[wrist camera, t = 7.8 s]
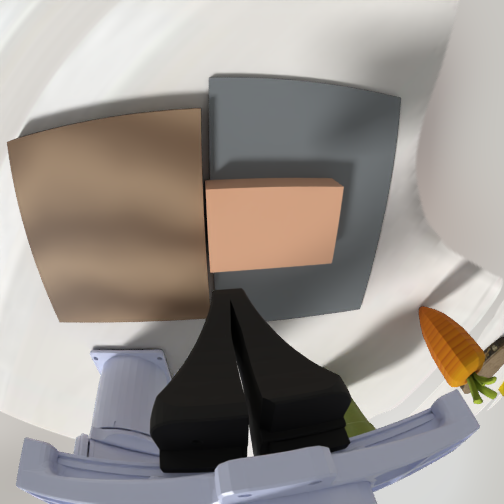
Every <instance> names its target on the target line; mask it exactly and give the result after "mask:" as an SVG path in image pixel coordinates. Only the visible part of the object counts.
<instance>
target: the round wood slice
mask: <svg viewBox="0 0 504 504" xmlns="http://www.w3.org/2000/svg"><path fill="white" fill-rule="evenodd" d="M483 352H484V354H485V361H484V364H483V366H482V369H481V370H480V372H479V373H478V374H477V375H479V376H483V377H487V378H491V377H492V376H493V375H494V374H495V373H496V372H497V371H498V370H499V369H500V367H501V366H502V365H503V364H504V337H501V338H500V339H498V340H496V341H495V342H494V343H492V344H491V345H490V346H489V347H487V348H486V349H485V350H484V351H483ZM460 387H461V389H462V390H463V392H464V394H468V393H470V392H471V391H470V388H469V385H468V383H467V384H465V385H462V386H460Z"/></svg>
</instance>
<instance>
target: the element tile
mask: <svg viewBox="0 0 504 504" xmlns="http://www.w3.org/2000/svg"><path fill="white" fill-rule="evenodd" d="M499 391H500V393H501V394H502V396H504V382H503V384H502V385H501V387H500V388H499Z"/></svg>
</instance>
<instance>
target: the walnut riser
mask: <svg viewBox="0 0 504 504" xmlns="http://www.w3.org/2000/svg"><path fill="white" fill-rule="evenodd" d="M7 146H8V153H9V160H10V166H11V172H12V177H13V182H14V187H15V192H16V197H17V201H18V205H19V209H20V213H21V217H22V221H23V224H24V228H25V231H26V235H27V238H28V241H29V245H30V248H31V251H32V254H33V257H34V260H35V263H36V266H37V268H38V271H39V274H40V276H41V279H42V282H43V284H44V287H45V289H46V292H47V294H48V297H49V299H50V301H51V304H52V306H53V308H54V311H55V313H56V315H57V317H58V319H59V322H145V321H170V320H189V319H205V318H207V315H208V312H209V308H210V299H209V286H208V273H207V258H206V243H205V225H204V205H203V181H202V147H201V108H188V109H174V110H162V111H152V112H143V113H135V114H127V115H120V116H113V117H107V118H101V119H95V120H90V121H85V122H80V123H75V124H70V125H66V126H61V127H57V128H53V129H49V130H45V131H41V132H37V133H33V134H30V135H26V136H23V137H19V138H16V139H14V140H11V141H9V142H7Z"/></svg>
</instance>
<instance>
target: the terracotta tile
mask: <svg viewBox="0 0 504 504" xmlns="http://www.w3.org/2000/svg"><path fill="white" fill-rule="evenodd" d="M205 186H206V208H207V228H208V245H209V261H210V273H213V272H227V271H241V270H254V269H268V268H281V267H293V266H305V265H317V264H329V263H332V260H333V254H334V248H335V242H336V236H337V230H338V224H339V217H340V211H341V204H342V196H343V189H344V187H343V186H342V185H341V184H339V183H338V182H337V181H335V180H334V179H332V178H250V179H223V180H205Z"/></svg>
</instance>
